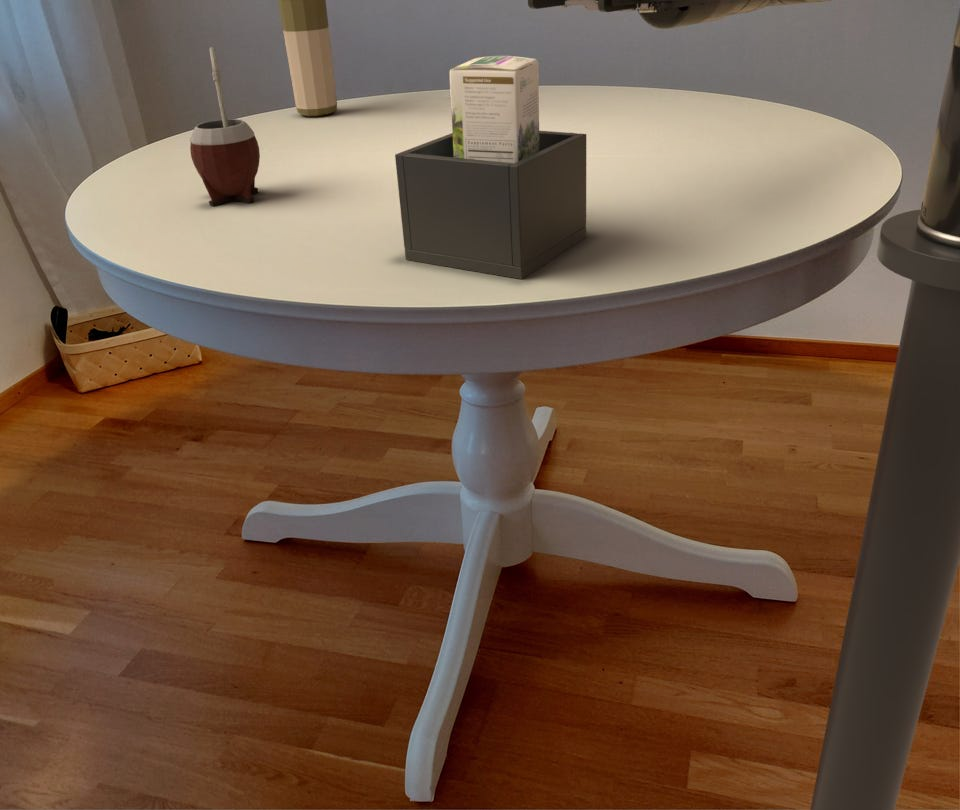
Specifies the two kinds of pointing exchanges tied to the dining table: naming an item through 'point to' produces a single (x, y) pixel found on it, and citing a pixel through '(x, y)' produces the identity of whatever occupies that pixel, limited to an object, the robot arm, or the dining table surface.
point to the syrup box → (495, 108)
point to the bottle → (309, 55)
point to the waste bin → (493, 205)
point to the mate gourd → (225, 153)
